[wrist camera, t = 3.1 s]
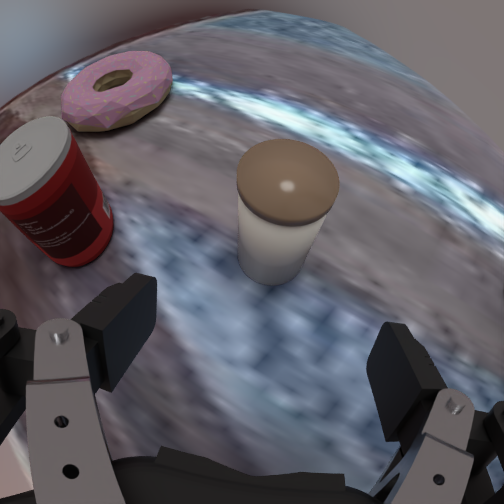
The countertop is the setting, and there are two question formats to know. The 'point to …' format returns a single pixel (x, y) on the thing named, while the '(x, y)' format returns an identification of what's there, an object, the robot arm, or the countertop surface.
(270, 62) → the countertop surface
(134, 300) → the robot arm
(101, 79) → the donut
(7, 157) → the canned food
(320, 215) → the brown-lidded white canister
